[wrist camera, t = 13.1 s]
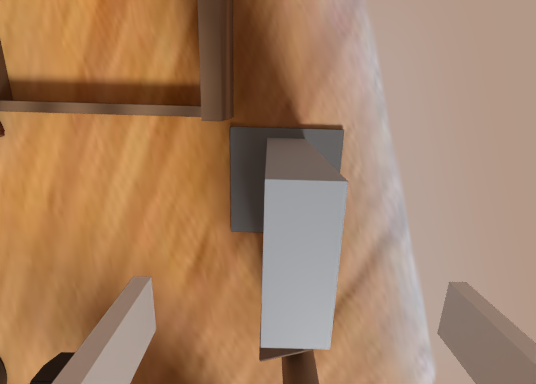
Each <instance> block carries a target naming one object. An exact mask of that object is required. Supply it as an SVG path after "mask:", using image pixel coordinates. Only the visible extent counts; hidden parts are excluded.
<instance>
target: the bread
mask: <svg viewBox="0 0 536 384" xmlns="http://www.w3.org/2000/svg"><path fill="white" fill-rule="evenodd" d="M4 131H5V130H4V128H3V126H2V124H1V122H0V137H2V136H4Z"/></svg>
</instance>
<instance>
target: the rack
mask: <svg viewBox="0 0 536 384" xmlns="http://www.w3.org/2000/svg"><path fill="white" fill-rule="evenodd" d="M197 4H198V32H199V60H200V88H201V106H179V105H145V104H110V103H75V102H40V101H13V99H12V94H11V89H10V84H9V80H8V75H7V70H6V65H5V61H4V56H3V51H2V46H1V41H0V111H11V112H46V113H81V114H116V115H151V116H186V117H202V121H224V120H226V119H229V118H232V117H233V0H197Z"/></svg>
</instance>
